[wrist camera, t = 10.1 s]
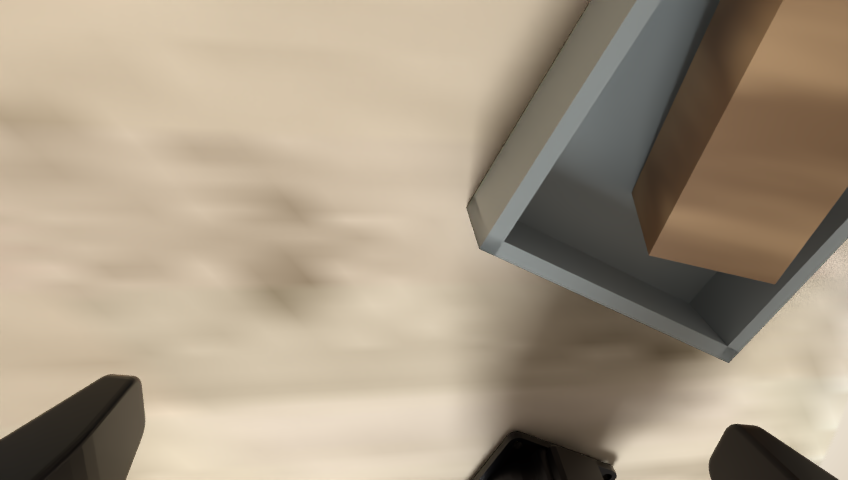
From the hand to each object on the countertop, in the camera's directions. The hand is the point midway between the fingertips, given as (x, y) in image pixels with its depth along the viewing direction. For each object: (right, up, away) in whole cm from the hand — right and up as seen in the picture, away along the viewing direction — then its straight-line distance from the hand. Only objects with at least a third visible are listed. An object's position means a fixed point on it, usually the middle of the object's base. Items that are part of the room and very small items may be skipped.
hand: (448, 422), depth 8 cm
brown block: (+9, +3, +10) cm, 14 cm away
